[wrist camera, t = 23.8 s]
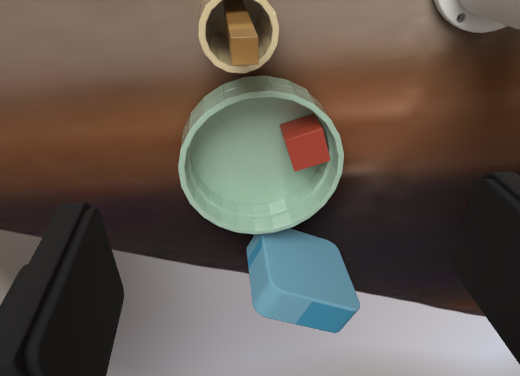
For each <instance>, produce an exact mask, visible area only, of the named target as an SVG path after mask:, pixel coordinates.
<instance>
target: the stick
mask: <svg viewBox="0 0 520 376" xmlns="http://www.w3.org/2000/svg"><path fill="white" fill-rule="evenodd" d="M223 5H224V17H225V24H226V30H227V37H228V44H229V50H230V57H231V63H232V66H235V65H255V64H259V51H258V35H257V33H256V31H255V28H254V26H253V24H252V21H251V19H250V17H249V14H248V12H247V10H246V7H245V5H244V3H243V0H223Z"/></svg>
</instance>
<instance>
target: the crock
mask: <svg viewBox="0 0 520 376" xmlns="http://www.w3.org/2000/svg"><path fill="white" fill-rule="evenodd" d="M243 3H244V5H245V7H246V10H247V12H248V14H249V17H250V19H251V21H252V24H253V26H254V28H255V31H256V33H257V35H258V51H259V64H255V65H235V66H232V63H231V57H230V50H229V44H228V37H227V30H226V24H225V17H224V5H223V0H202V1H201V8H200V16H199V41H200V43H201V46H202V49H203V51H204V54H205V55H206V56H207V57H208V58H209V59H210V61H211V62H212V63H213V64H214V65H216V66H217V67H219V68H221V69H223V70H225V71H227V72H230V73H247V72H250V71H253V70H256V69H258V68H260V67H261V66H262V65H263V64H264V63H266V62H267V61H268V60H269V59H270V58H271V56H272V54H273V52H274V50H275V48H276V46H277V44H278V37H279V24H278V20H277V17H276V13H275V11H274V9H273V8H272V7H271V5H270V4H269V3H268V1H267V0H243Z"/></svg>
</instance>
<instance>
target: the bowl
mask: <svg viewBox="0 0 520 376" xmlns="http://www.w3.org/2000/svg"><path fill="white" fill-rule="evenodd" d="M313 113H314V114H315V115H316V117H317V119H318V121H319V123H320V124H321V126H322V128H323V131H324V135H325V139H326V144H327V148H328V152H329V156H330V161H327V162H324V163H321V164H318V165H315V166H312V167H309V168H305V169H302V170H299V171H296V172H295V171H294V169H293V166H292V163H291V160H290V157H289V154H288V151H287V148H286V144H285V141H284V138H283V135H282V131H281V128H280V124H282V123H285V122H289V121H292V120H295V119H298V118H301V117H304V116H307V115H310V114H313ZM343 160H344V152H343V147H342V143H341V138H340V135H339V133H338V131H337V130H336V128H335V126H334V124H333V123H332V121H331V119H330V117H329V116H328V114H327V113H326V111H325V109H324V108H323V106H322V105H321V103H320V102H319V101H318V100H317V99H316V98H315V97H314V96H313V95H312V94H311V93H310V92H309V91H308V90H306V89H305V88H303V87H301V86H299V85H297V84H295V83H293V82H291V81H289V80H287V79H282V78H276V77H271V76H266V75H265V76H250V77H243V78H240V79H237V80H234V81H231V82H228V83H225V84H222V85H221V86H219V87H218V88H216V89H215V90H213V91H212V92H210V93H209V94H207V95H206V96H205V97H204V98H203V99H202V100H201V101H200V103H199V104H198V105H197V106H196V107H195V108H194V110H193V111H192V112H191V114H190V116H189V118H188V120H187V123H186V125H185V127H184V129H183V135H182V143H181V150H180V158H179V165H178V170H179V176H180V182H181V186H182V189H183V191H184V193H185V195H186V197H187V199H188V200H189V202H190V204H191V205H192V206H193V207H194V208H195V209H196V210H197V211H198V212H199V213H200V214H201V215H202V216H203V217H204V218H206V219H207V220H209V221H211V222H212V223H214V224H215V225H217V226H219V227H222V228H225V229H228V230H231V231H234V232H237V233H247V234H264V233H274V232H278V231H281V230H284V229H288V228H291V227H294V226H296V225H297V224H299V223H301V222H303V221H305V220H307V219H308V218H310V217H311V216H312V215H314V214H315V213H316V212H317V211H318V210H319V209H321V208H322V207H323V206H324V205H325V204H326V202H327V201H328V200H329V198H330V197H331V195H332V194H333V193H334V191H335V190H336V187H337V185H338V182H339V180H340V177H341V175H342V170H343Z"/></svg>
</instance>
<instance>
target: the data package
mask: <svg viewBox="0 0 520 376" xmlns="http://www.w3.org/2000/svg"><path fill="white" fill-rule="evenodd" d="M247 258H248V267H249V276H250V285H251V294H252V302H253V306H254V308H255V310H256V311H257V312H258V313H259V314H260V315H261V316H264V317H266V318H270V319H275V320H279V321H283V322H288V323H292V324H297V325H301V326H306V327H310V328H315V329H319V330H323V331H328V332H332V333H336V332H339V331H340V330H341V329H342V328H343V327H344V325H345V324H346V323H347V322H348V321H349V320H350V319H351V318H352V316H353V315H354V314H355V313H356V312H357V311H358V309H359V307H360V302H359V300H358V297H357V295H356V292H355V290H354V287H353V285H352V282H351V280H350V277H349V274H348V272H347V269H346V267H345V264H344V262H343V259H342V257H341V254H340V252H339V250H338V248H337V247H336V246H335V245H334V244H333V243H332V242H330V241H328V240H325V239H322V238H319V237H316V236H313V235H309V234H306V233H303V232H300V231H297V230H293V229H290V228H288V229H284V230H281V231H278V232H274V233H264V234H254V236H253V238H252V240H251V241H250V243H249V245H248V246H247Z"/></svg>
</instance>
